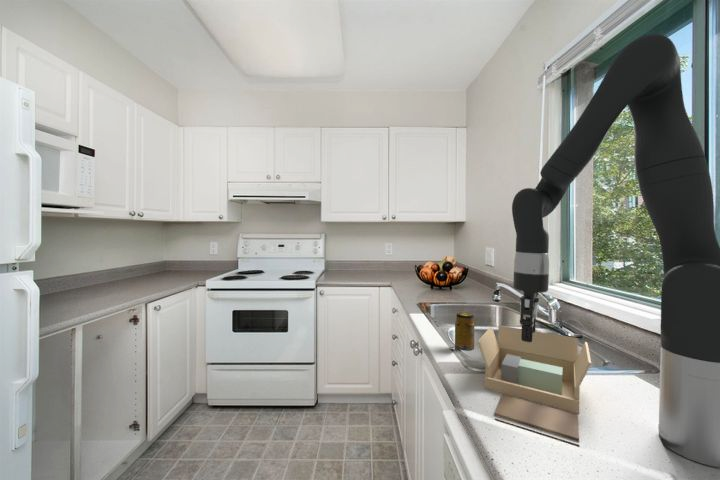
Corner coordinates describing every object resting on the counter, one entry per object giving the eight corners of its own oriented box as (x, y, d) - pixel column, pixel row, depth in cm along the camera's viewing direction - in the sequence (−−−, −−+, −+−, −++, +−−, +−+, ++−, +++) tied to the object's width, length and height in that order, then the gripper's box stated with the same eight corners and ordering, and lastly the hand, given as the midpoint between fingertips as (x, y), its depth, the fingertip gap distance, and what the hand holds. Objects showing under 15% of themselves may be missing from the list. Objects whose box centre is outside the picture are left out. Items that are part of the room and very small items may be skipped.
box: (562, 385, 76) (562, 365, 76) (561, 399, 69) (562, 377, 69) (506, 372, 83) (506, 353, 82) (501, 384, 76) (501, 364, 76)
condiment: (463, 345, 106) (464, 310, 105) (484, 353, 98) (485, 316, 98) (448, 349, 102) (448, 313, 102) (468, 358, 95) (469, 319, 95)
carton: (585, 385, 78) (586, 339, 78) (590, 421, 63) (591, 364, 62) (491, 363, 90) (492, 324, 90) (475, 389, 75) (476, 341, 75)
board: (577, 421, 62) (577, 414, 62) (578, 447, 55) (579, 438, 55) (502, 400, 70) (502, 394, 70) (494, 420, 63) (494, 412, 63)
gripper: (547, 275, 68) (544, 348, 68) (550, 269, 79) (547, 332, 80) (509, 272, 72) (507, 341, 72) (517, 267, 84) (515, 326, 84)
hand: (528, 336), depth 76 cm, fingers open, 8 cm apart
